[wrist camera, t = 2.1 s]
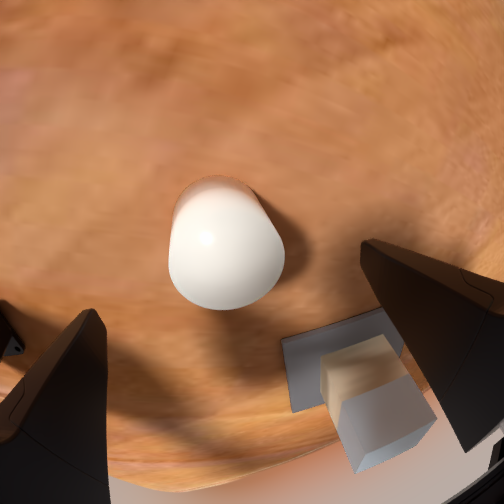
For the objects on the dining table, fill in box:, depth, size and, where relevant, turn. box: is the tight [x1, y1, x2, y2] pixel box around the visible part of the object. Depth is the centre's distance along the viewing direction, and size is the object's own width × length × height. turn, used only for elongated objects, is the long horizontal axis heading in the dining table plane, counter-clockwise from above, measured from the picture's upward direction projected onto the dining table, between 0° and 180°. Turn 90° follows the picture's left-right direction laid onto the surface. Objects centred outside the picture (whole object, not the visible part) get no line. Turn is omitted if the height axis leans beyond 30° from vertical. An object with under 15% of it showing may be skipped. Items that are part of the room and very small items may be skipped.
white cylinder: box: [169, 175, 285, 310], centre depth 12 cm, size 4×4×4 cm
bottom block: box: [320, 334, 409, 430], centre depth 19 cm, size 5×5×4 cm
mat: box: [281, 307, 404, 413], centre depth 21 cm, size 10×10×1 cm
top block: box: [337, 374, 437, 474], centre depth 16 cm, size 5×5×4 cm
